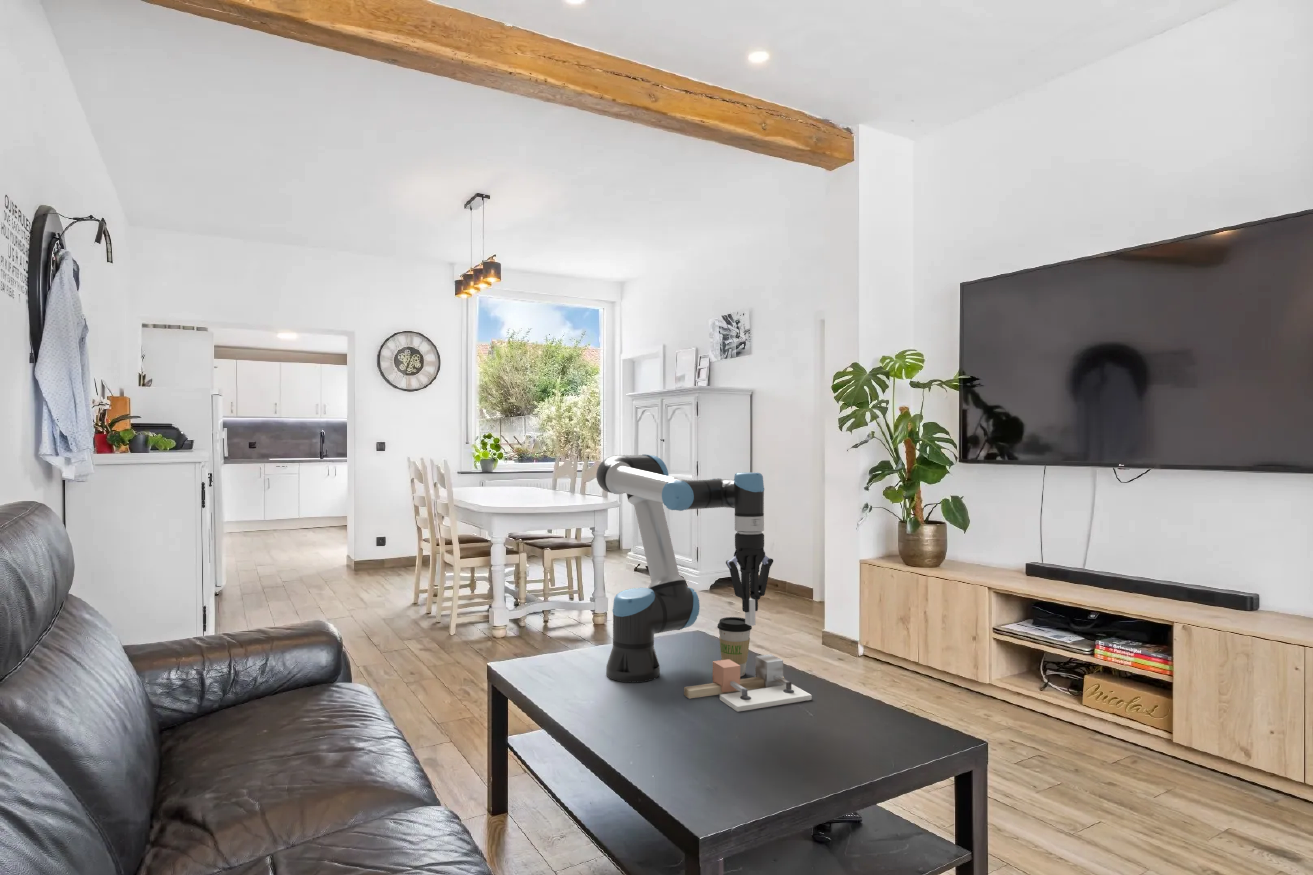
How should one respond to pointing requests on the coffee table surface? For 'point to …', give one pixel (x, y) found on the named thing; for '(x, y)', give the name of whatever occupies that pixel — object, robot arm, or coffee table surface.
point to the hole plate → (765, 697)
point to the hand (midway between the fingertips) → (750, 624)
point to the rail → (766, 676)
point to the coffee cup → (734, 640)
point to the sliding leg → (728, 676)
